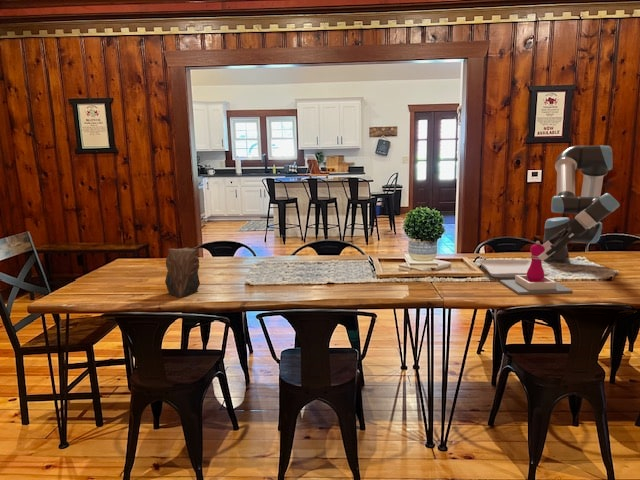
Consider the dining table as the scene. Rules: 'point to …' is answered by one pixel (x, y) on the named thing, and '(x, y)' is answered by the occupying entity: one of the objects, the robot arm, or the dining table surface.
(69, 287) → the dining table surface
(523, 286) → the caddy
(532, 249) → the pepper mill
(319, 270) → the dining table surface
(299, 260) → the dining table surface
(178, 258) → the owl
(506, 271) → the square plate
